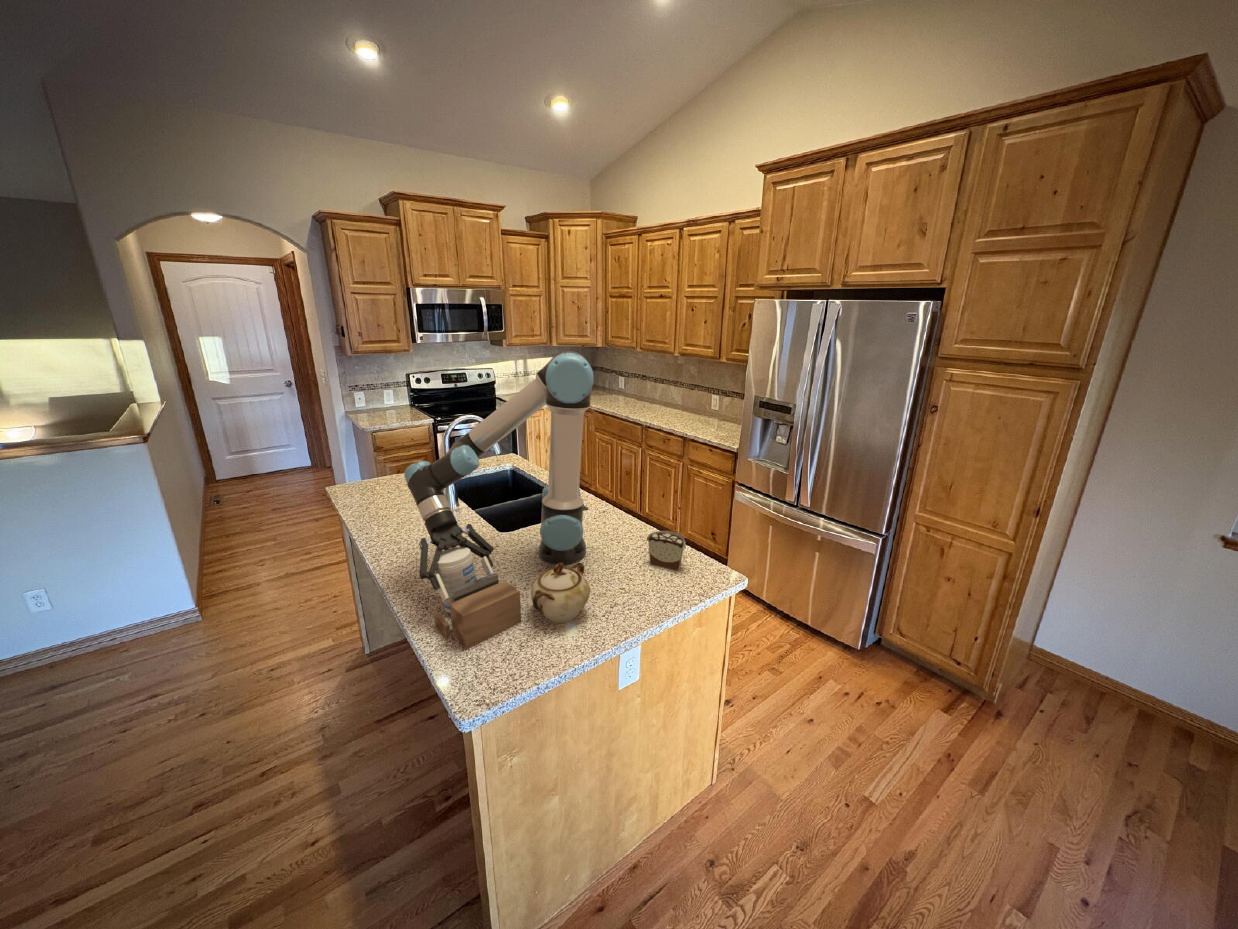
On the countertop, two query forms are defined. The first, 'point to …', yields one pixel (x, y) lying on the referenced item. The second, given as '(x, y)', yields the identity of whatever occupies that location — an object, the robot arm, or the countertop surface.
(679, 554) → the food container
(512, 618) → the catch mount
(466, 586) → the plate
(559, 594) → the sugar bowl
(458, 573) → the supplement tub
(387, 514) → the countertop surface
